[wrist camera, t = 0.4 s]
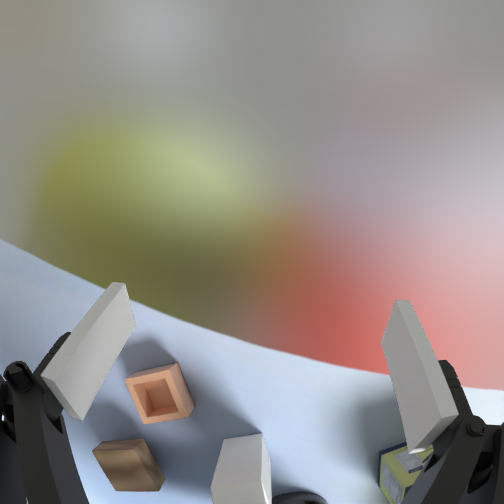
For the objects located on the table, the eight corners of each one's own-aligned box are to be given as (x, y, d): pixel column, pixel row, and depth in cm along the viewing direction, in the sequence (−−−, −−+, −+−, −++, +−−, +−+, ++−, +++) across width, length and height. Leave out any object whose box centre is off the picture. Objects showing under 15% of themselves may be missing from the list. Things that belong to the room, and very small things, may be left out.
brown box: (165, 478, 42) (158, 491, 37) (124, 479, 42) (115, 490, 37) (143, 438, 43) (134, 449, 38) (102, 441, 43) (91, 450, 38)
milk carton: (223, 438, 45) (205, 502, 26) (262, 432, 45) (260, 497, 26) (233, 467, 44) (221, 532, 26) (270, 461, 44) (272, 528, 25)
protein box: (439, 460, 42) (473, 492, 27) (377, 485, 42) (401, 528, 27) (443, 425, 43) (483, 454, 28) (377, 451, 44) (407, 493, 28)
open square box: (195, 405, 46) (188, 417, 41) (153, 413, 46) (143, 424, 41) (177, 362, 47) (169, 369, 42) (136, 371, 47) (124, 379, 42)
